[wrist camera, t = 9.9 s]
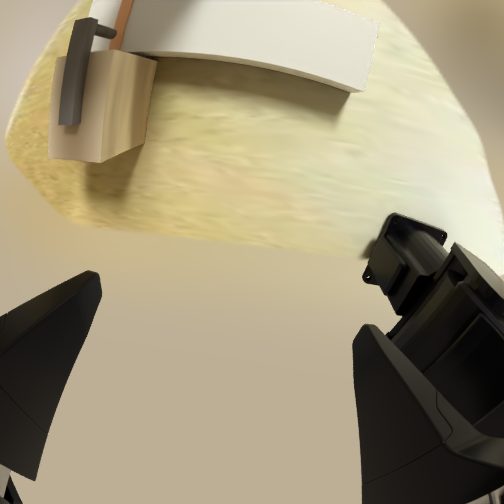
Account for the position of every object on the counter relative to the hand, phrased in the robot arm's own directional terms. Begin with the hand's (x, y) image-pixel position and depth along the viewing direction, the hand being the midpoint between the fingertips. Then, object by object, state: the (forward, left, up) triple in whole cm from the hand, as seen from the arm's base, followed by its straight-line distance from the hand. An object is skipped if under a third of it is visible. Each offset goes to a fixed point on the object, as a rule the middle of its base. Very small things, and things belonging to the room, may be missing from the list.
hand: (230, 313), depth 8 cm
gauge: (+10, -5, -12) cm, 16 cm away
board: (+4, -11, -12) cm, 17 cm away
